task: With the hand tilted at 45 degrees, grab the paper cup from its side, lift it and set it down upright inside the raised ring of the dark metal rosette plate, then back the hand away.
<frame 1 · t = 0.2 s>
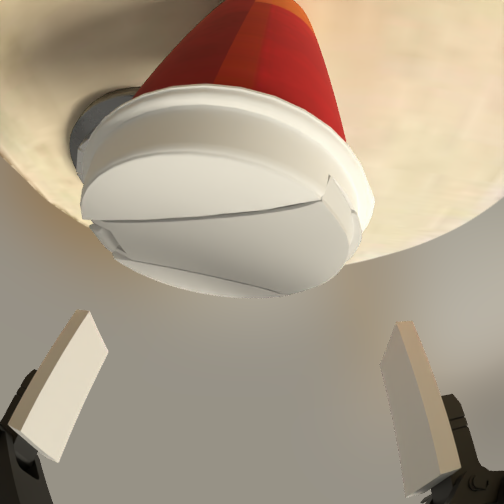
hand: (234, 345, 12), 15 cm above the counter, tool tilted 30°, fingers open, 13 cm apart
paper cup: (262, 29, 14), on the counter
rosette plate: (155, 162, 25), on the counter
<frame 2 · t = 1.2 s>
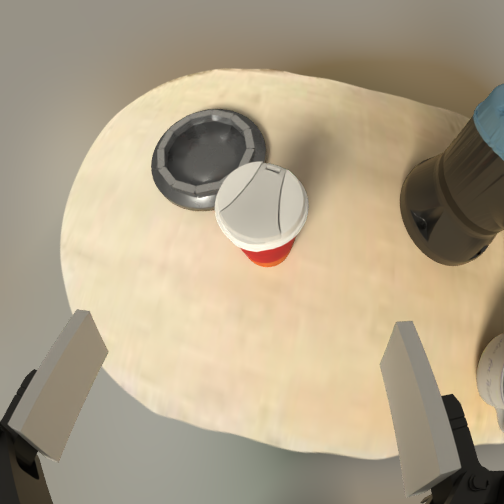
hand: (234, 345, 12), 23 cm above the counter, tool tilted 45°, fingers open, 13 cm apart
paper cup: (267, 245, 37), on the counter
rosette plate: (208, 157, 41), on the counter
teacup: (490, 378, 30), on the counter
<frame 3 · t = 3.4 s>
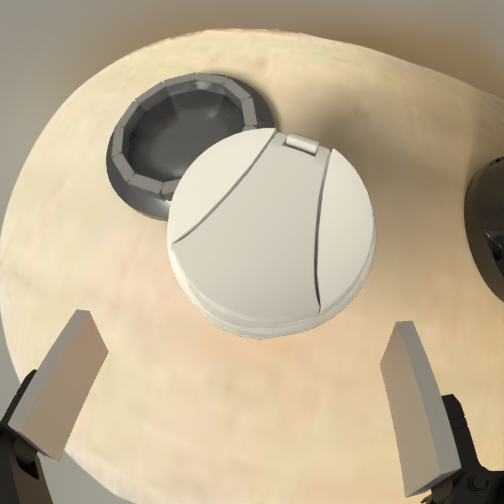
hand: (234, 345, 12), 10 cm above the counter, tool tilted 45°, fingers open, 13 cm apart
paper cup: (273, 280, 23), on the counter
rosette plate: (187, 141, 27), on the counter
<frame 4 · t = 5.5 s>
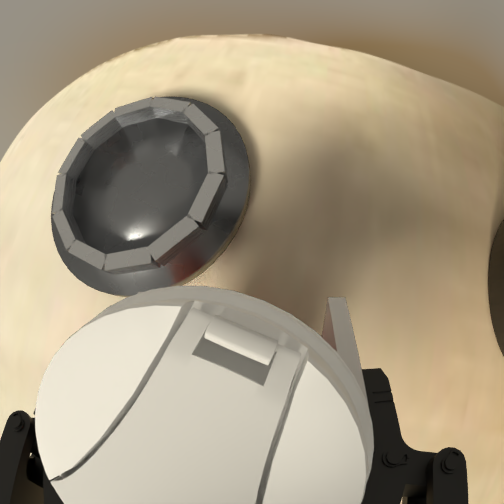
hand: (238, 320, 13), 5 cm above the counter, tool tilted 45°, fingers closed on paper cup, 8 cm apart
paper cup: (247, 376, 18), on the counter, touching gripper
rosette plate: (142, 188, 21), on the counter
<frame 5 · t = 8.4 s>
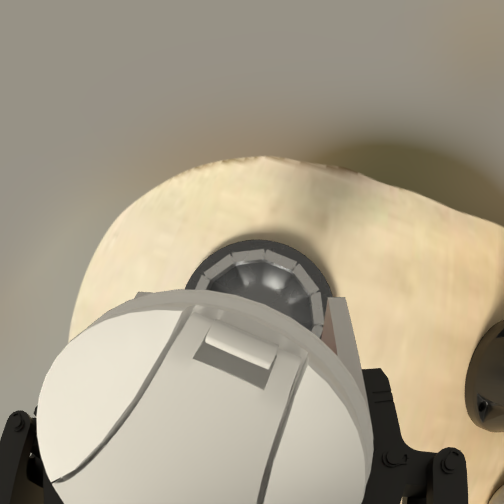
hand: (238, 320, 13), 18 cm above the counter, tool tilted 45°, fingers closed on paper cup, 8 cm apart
paper cup: (247, 377, 18), point 13 cm above the counter, touching gripper
rosette plate: (256, 317, 31), on the counter
when the fingers open (8 cm above the counter, at t = 11.1 s): paper cup drops 2 cm, resting on rosette plate.
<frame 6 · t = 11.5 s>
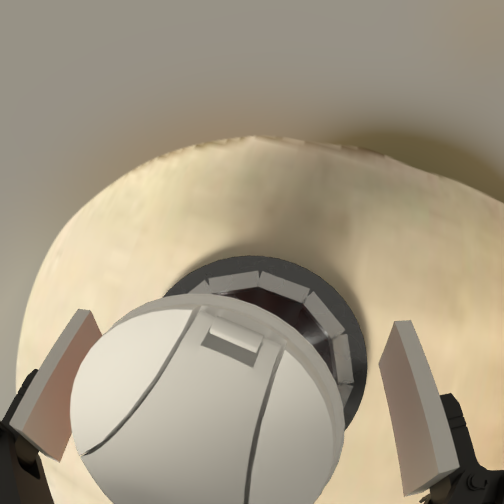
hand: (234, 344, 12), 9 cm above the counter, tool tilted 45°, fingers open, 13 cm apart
paper cup: (246, 372, 19), point 1 cm above the counter, touching rosette plate
rosette plate: (251, 370, 20), on the counter
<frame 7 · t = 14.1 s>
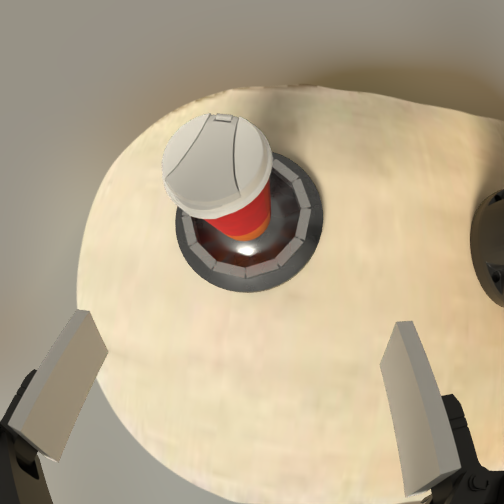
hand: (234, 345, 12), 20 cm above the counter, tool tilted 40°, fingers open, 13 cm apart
paper cup: (244, 216, 32), point 1 cm above the counter, touching rosette plate
rosette plate: (248, 218, 33), on the counter
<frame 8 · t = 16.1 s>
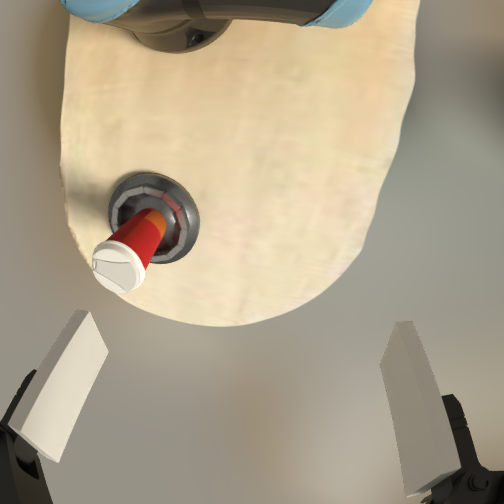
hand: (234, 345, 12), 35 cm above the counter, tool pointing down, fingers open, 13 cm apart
paper cup: (151, 223, 48), point 1 cm above the counter, touching rosette plate
rosette plate: (153, 219, 49), on the counter
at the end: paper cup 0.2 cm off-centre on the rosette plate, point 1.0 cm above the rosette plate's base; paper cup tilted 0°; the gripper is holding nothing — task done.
